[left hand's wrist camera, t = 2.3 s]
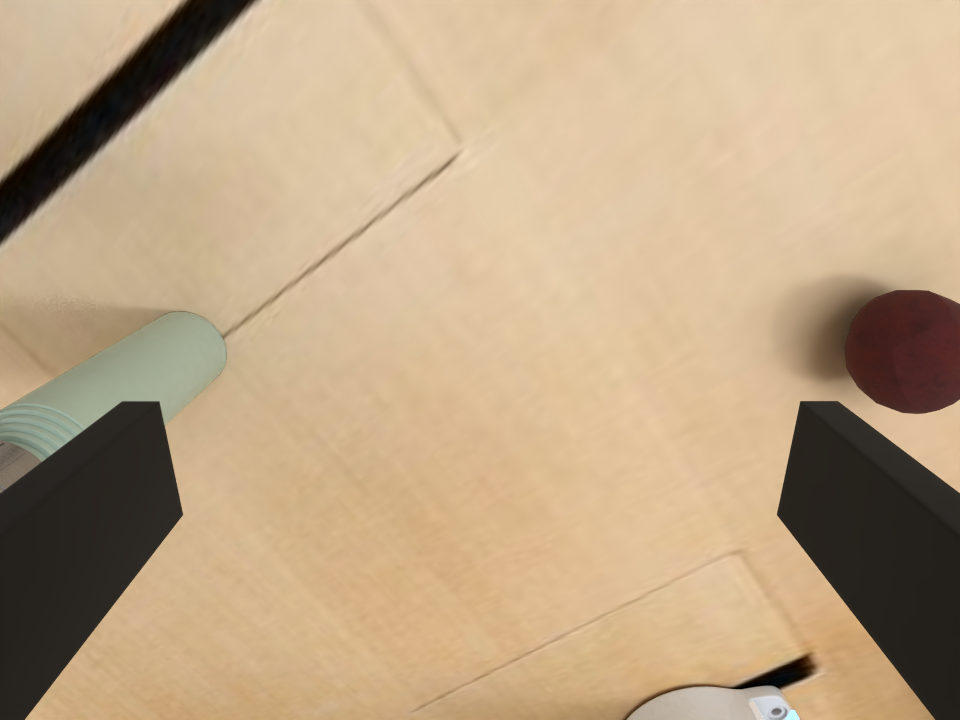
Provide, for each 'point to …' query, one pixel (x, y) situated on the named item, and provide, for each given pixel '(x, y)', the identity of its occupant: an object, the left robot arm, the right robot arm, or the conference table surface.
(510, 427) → the conference table surface
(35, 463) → the cap
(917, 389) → the dark red sphere
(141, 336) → the bottle
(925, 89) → the conference table surface
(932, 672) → the left robot arm
